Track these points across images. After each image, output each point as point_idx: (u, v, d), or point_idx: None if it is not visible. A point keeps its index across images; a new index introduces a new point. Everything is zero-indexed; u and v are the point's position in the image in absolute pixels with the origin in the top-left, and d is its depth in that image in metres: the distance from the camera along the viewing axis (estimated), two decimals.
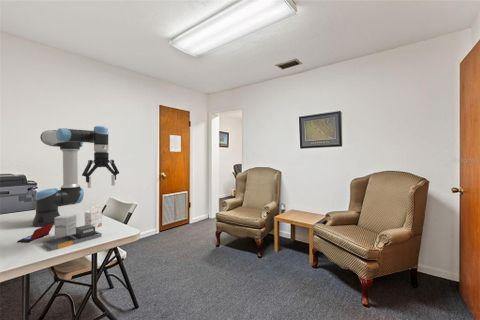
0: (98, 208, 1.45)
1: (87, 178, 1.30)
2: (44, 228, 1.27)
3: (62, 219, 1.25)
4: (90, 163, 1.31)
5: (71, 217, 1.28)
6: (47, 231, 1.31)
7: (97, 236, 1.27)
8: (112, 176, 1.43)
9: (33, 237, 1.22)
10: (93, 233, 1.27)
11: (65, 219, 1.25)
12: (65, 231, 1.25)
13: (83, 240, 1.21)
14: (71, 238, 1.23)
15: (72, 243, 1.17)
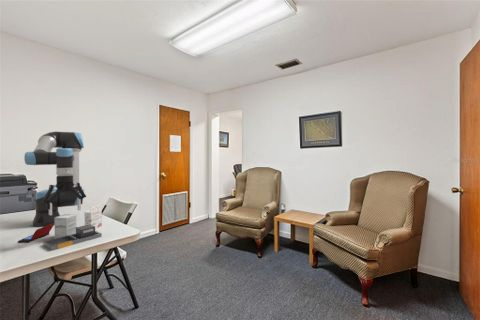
0: (98, 208, 1.45)
1: (47, 205, 1.21)
2: (45, 228, 1.27)
3: (62, 219, 1.25)
4: (51, 188, 1.22)
5: (71, 217, 1.28)
6: (47, 231, 1.31)
7: (97, 236, 1.27)
8: (78, 200, 1.33)
9: (34, 237, 1.22)
10: (93, 233, 1.27)
11: (65, 219, 1.25)
12: (65, 231, 1.25)
13: (83, 240, 1.21)
14: (71, 238, 1.23)
15: (72, 243, 1.17)
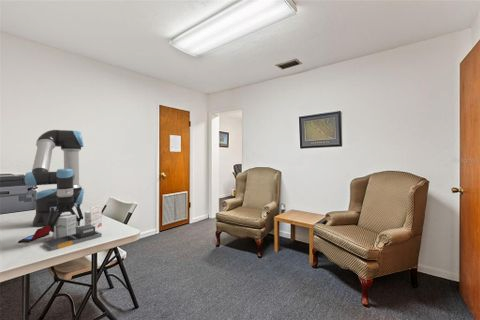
0: (98, 208, 1.45)
1: (52, 227, 1.23)
2: (45, 228, 1.27)
3: (62, 219, 1.25)
4: (52, 211, 1.22)
5: (71, 217, 1.28)
6: (48, 231, 1.31)
7: (97, 236, 1.27)
8: None
9: (35, 237, 1.22)
10: (93, 233, 1.27)
11: (65, 219, 1.25)
12: (65, 231, 1.25)
13: (83, 240, 1.21)
14: (71, 238, 1.23)
15: (72, 243, 1.17)
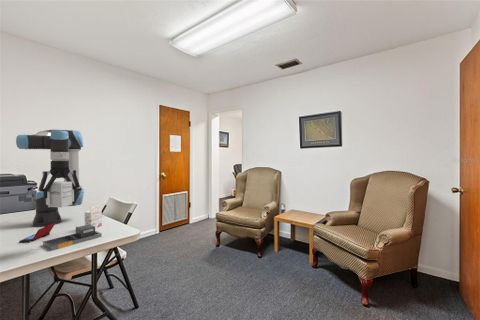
0: (98, 208, 1.45)
1: (45, 193, 1.12)
2: (46, 228, 1.27)
3: (56, 184, 1.14)
4: (45, 175, 1.12)
5: (66, 183, 1.17)
6: (48, 231, 1.31)
7: (97, 236, 1.27)
8: None
9: (36, 237, 1.23)
10: (93, 233, 1.27)
11: (59, 184, 1.14)
12: (60, 198, 1.14)
13: (83, 240, 1.21)
14: (71, 238, 1.23)
15: (72, 243, 1.17)
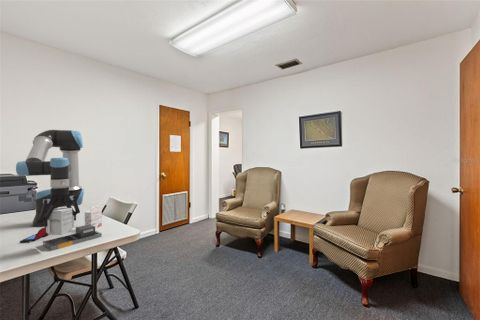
0: (98, 208, 1.45)
1: (45, 222, 1.12)
2: None
3: (56, 212, 1.14)
4: (45, 203, 1.11)
5: (66, 210, 1.17)
6: None
7: (97, 236, 1.27)
8: None
9: (37, 237, 1.23)
10: (93, 233, 1.27)
11: (59, 212, 1.14)
12: (60, 225, 1.14)
13: (83, 240, 1.21)
14: (71, 238, 1.23)
15: (72, 243, 1.17)
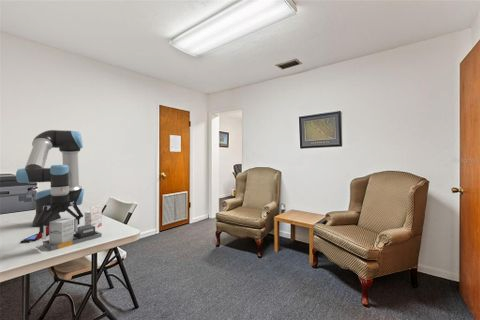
0: (98, 208, 1.45)
1: (41, 228, 1.10)
2: (48, 228, 1.28)
3: (57, 224, 1.14)
4: (45, 210, 1.11)
5: (67, 222, 1.17)
6: None
7: (97, 236, 1.27)
8: (74, 221, 1.23)
9: (38, 237, 1.23)
10: (93, 233, 1.27)
11: (60, 224, 1.14)
12: (61, 237, 1.14)
13: (83, 240, 1.21)
14: None
15: (72, 243, 1.17)
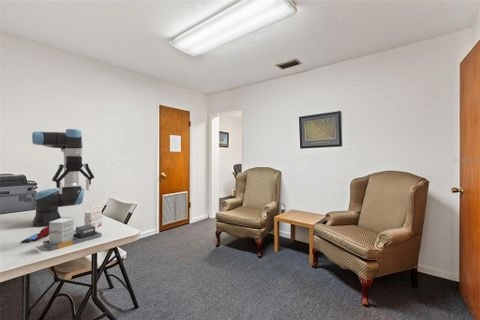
0: (98, 208, 1.45)
1: (57, 183, 1.25)
2: (48, 227, 1.28)
3: (57, 224, 1.14)
4: (61, 168, 1.25)
5: (67, 222, 1.17)
6: None
7: (97, 236, 1.27)
8: (86, 181, 1.37)
9: (39, 237, 1.23)
10: (93, 233, 1.27)
11: (60, 224, 1.14)
12: (61, 237, 1.14)
13: (83, 240, 1.21)
14: None
15: (72, 243, 1.17)
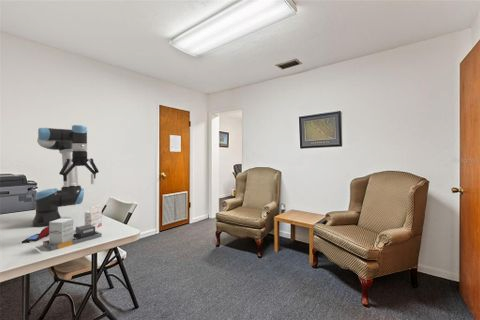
0: (98, 208, 1.45)
1: (64, 177, 1.31)
2: None
3: (57, 224, 1.14)
4: (67, 162, 1.31)
5: (67, 222, 1.17)
6: None
7: (97, 236, 1.27)
8: (91, 175, 1.43)
9: (39, 237, 1.23)
10: (93, 233, 1.27)
11: (60, 224, 1.14)
12: (61, 237, 1.14)
13: (83, 240, 1.21)
14: None
15: (72, 243, 1.17)
